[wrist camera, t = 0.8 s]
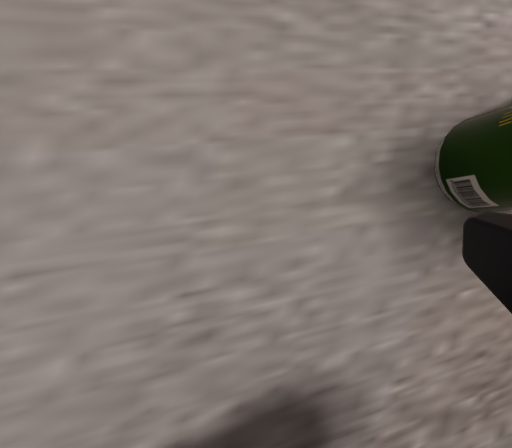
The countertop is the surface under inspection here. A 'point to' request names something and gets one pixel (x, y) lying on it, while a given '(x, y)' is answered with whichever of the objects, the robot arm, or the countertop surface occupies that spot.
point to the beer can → (478, 162)
